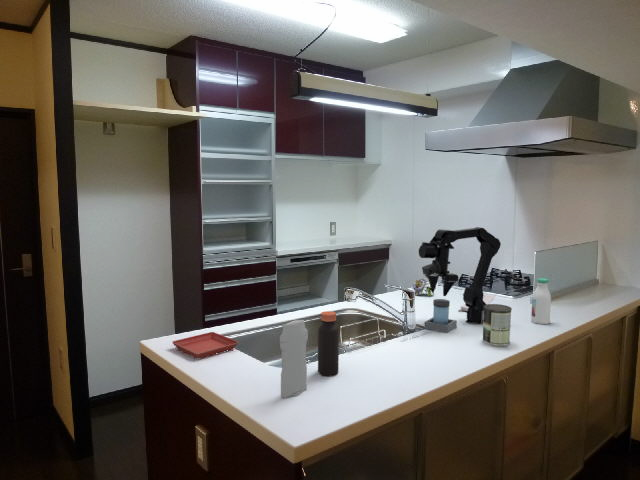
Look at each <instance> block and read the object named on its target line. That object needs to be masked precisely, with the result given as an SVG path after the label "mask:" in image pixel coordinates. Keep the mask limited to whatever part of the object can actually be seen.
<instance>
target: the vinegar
mask: <svg viewBox="0 0 640 480" xmlns="http://www.w3.org/2000/svg"><path fill="white" fill-rule="evenodd" d="M320 322H321V325H319V326H318V328H317V373H318V375H321V376H324V377H334V376H336V375H338V373H339V360H340V359H339V353H340V352H339V350H340V349H339V348H340V347H339V346H340V345H339V344H340V343H339V340H340V339H339V338H340V337H339V336H340V329H339V326H337V324H336V323H337V312H335V311H331V310H329V311H327V310H326V311H322V312H320Z"/></svg>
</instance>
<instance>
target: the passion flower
mask: <svg viewBox="0 0 640 480" xmlns="http://www.w3.org/2000/svg"><path fill="white" fill-rule="evenodd" d="M426 279H427V277H426V276H424V277H423V278H420V279H416V280H414V283H413V285H412V286H411V287H410V288H412V290H413V291H414V292H415V293H414V294H415V296H419V295H422V294H423V291H424V292H425V293H426V294H427V295H428V296H429V297H432V295H434V293H435V291H434V292H432V291H431V287H430V283H429V280H428V281H426ZM436 289H437V286H436V287H435V290H436Z"/></svg>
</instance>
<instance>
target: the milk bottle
mask: <svg viewBox="0 0 640 480" xmlns="http://www.w3.org/2000/svg"><path fill="white" fill-rule="evenodd" d="M536 284H537V286H536V288H535V289H534V292H533V294H532V300H531V301H532V302H531V315H530V316H531V318H530V319H531V322H532V323H533V324H534V323H535V324H537V325H538V324H539V325H548V324H550V322H551V309H552V308H551V306H552V305H551V304H552V295H551V292H550V289H549V287H548V285H549V279H548V278H542V277H541V278H537V280H536Z"/></svg>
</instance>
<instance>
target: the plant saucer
mask: <svg viewBox="0 0 640 480" xmlns="http://www.w3.org/2000/svg"><path fill="white" fill-rule="evenodd" d="M172 344H173V345H174V346H175V348H176V349H178V350H179V351H181V352H184V353H186V354H187V355H189V356H191V357H193V356H194V357H193V358H195V357H196V358H195V359H197V358H198V359H199V358H201V359H204V358H207V357H206V356H208V357H210V355H211V356H214V355H213V354H215V355H217V354H216V353H218V354H221V353H220V352H222V353H225V352H224V351H226V352H228V351H227V350H229V351H232V350H233V349H235V347H236V346H237V345H238V344H239V341H237V340H234V339H232V338H229V337H227V336H224V335H223V334H219V333H218V332H215V331H209V332H205V333H202V334H197V335H192V336H189V337H184V338H180V339H177V340H172ZM231 349H232V350H231ZM203 357H204V358H203ZM199 360H200V359H199Z"/></svg>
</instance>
